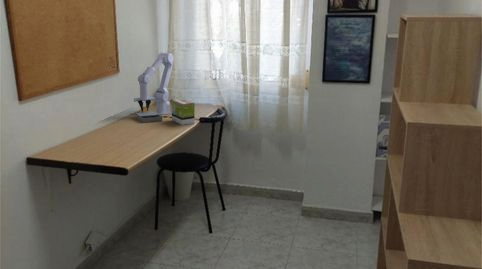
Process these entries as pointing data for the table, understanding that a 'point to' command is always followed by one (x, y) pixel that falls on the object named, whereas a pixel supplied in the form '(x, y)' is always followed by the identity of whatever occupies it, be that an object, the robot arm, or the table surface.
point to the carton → (149, 118)
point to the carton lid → (146, 113)
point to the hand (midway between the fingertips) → (144, 110)
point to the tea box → (183, 111)
